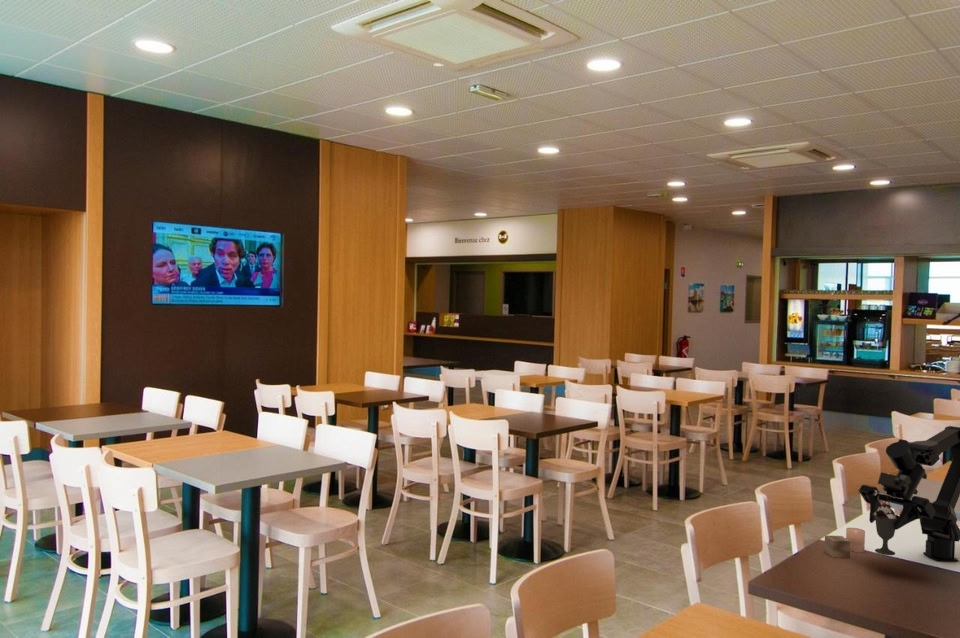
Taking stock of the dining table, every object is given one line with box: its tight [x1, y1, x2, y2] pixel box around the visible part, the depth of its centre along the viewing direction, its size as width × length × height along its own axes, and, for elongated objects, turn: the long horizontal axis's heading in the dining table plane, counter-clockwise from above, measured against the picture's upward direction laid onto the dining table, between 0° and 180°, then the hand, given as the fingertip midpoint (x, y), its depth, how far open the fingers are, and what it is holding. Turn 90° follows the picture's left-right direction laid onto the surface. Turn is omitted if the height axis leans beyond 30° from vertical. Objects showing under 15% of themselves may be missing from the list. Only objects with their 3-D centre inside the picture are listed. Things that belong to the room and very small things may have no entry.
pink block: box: [845, 527, 866, 553], centre depth 218 cm, size 5×5×6 cm
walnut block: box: [824, 535, 851, 559], centre depth 213 cm, size 5×5×5 cm
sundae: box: [872, 497, 900, 556], centre depth 199 cm, size 7×7×15 cm
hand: (882, 525), depth 198 cm, fingers closed on sundae, 6 cm apart
